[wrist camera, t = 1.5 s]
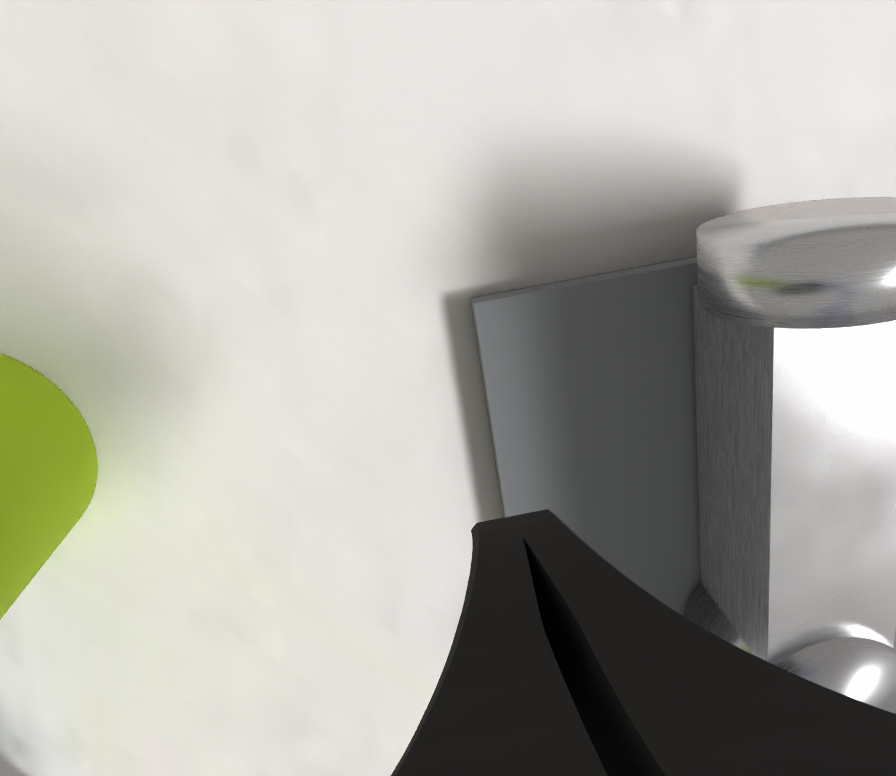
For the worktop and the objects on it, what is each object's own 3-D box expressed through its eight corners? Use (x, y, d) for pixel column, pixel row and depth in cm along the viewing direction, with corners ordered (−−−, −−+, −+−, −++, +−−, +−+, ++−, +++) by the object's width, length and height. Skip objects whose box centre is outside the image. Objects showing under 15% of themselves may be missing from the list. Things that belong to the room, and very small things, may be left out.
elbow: (822, 653, 21) (936, 785, 17) (681, 682, 21) (760, 823, 17) (849, 191, 16) (1023, 211, 12) (662, 225, 16) (768, 257, 11)
